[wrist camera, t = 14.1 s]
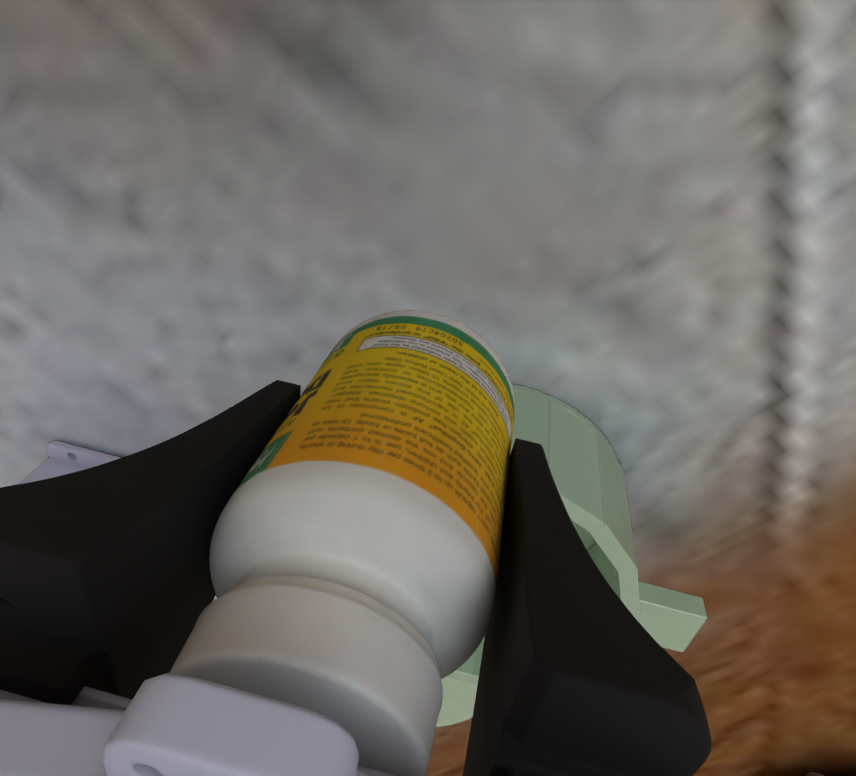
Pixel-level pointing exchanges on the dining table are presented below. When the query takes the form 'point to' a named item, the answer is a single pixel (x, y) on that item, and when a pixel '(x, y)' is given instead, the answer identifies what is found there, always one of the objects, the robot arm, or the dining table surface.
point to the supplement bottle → (367, 538)
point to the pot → (597, 518)
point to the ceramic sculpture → (814, 774)
